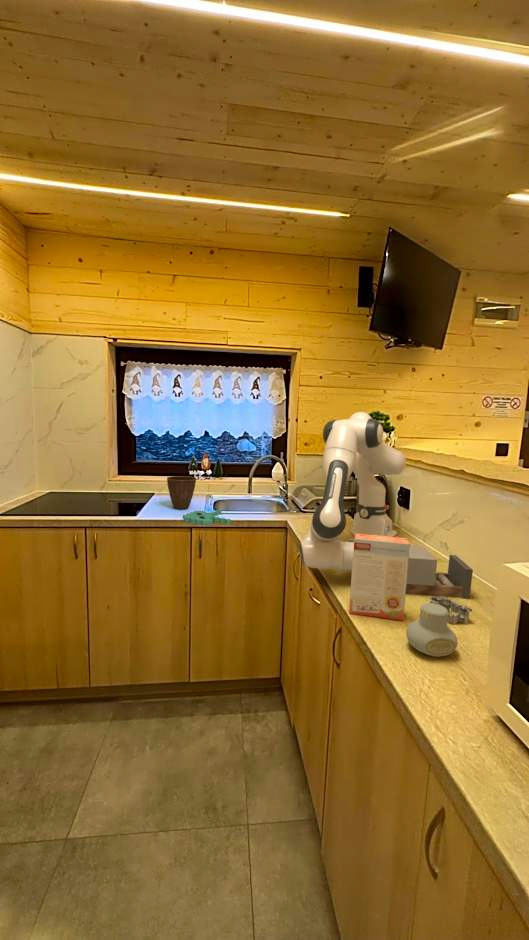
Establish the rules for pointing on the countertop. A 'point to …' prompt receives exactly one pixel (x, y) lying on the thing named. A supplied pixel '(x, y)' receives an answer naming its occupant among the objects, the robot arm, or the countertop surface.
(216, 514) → the alien figure
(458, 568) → the roller bed
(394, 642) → the countertop surface
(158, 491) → the countertop surface
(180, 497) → the plant pot
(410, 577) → the grey cardboard box
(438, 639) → the air freshener
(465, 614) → the egg carton
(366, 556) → the cracker box
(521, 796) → the countertop surface
